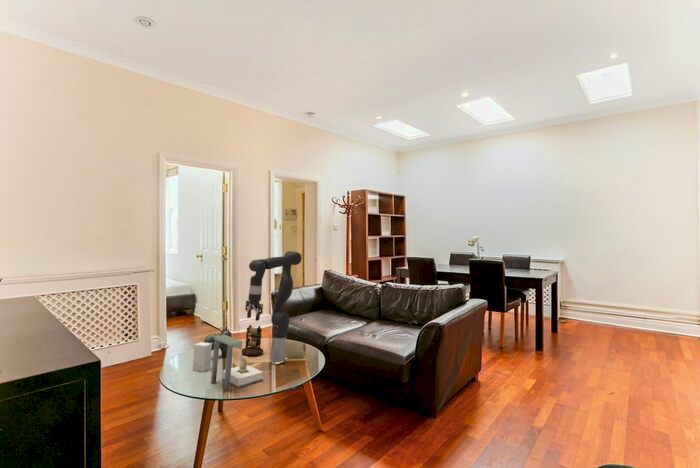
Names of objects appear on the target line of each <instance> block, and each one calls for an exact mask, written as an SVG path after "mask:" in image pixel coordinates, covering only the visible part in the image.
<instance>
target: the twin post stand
mask: <svg viewBox="0 0 700 468" xmlns="http://www.w3.org/2000/svg"><path fill="white" fill-rule="evenodd" d="M214 339H215V341H214V350H213V353H212V362H211V365H212V367H211V374H210V384H212V385H214V384H217V377H218V376H217V375H218V366H219V365H218V364H219V353H220V349H219V344H220V342H222V343H225V344H227V345H228V347H227V356H226V357H225V358H226V360H225V362H226V363H225V369H224V370H225V381H224V380H223V381H224V384H223V392H228V390H229V391H230V385H231V384H230V375H231V368H232V362H233V361H232V360H233V353H234V352H233V351H234V350H233V349H234V348H235V349H237V350H241V351H242V349H243V341H242V340H241V339H240V340H239V339H238V338H234V337H230V336H227V335H221V336H215V337H214Z"/></svg>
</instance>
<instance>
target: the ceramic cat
mask: <svg viewBox="0 0 700 468" xmlns="http://www.w3.org/2000/svg"><path fill="white" fill-rule="evenodd" d="M220 329H221V330H220ZM217 330H218V331H219V330H220V333H219V334H218V333H217V334H216V333H214V334H213V333H211V334H208V335H206V336H205V338H204V341H203V342H205V343H212V351H214V341H215V339H214V337H215V336H221V335H227V336H230V337H232V332H231V331H230V329H227V330H224V328H223V327H219V328H217ZM232 338H233V337H232ZM227 347H228V345H227V344H225V343H222V342H220V344H219V350H220V352H221V357H223V358H227Z"/></svg>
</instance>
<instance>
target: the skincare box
mask: <svg viewBox="0 0 700 468" xmlns="http://www.w3.org/2000/svg"><path fill="white" fill-rule="evenodd" d="M212 351H213V350H212V343H205V342H204V341H200V342H197V343H195V344H193V358H192V359H193V362H192V371H195V372H196V371H197V372H203V373H204V372H207V371H209V370H210V369H212V367H211V365H212Z"/></svg>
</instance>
